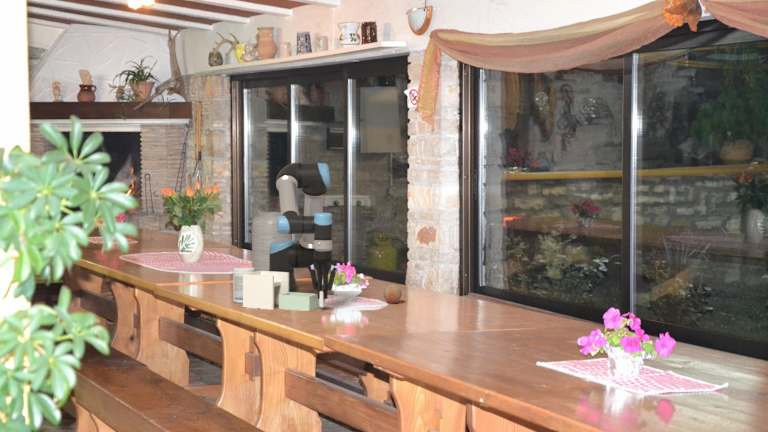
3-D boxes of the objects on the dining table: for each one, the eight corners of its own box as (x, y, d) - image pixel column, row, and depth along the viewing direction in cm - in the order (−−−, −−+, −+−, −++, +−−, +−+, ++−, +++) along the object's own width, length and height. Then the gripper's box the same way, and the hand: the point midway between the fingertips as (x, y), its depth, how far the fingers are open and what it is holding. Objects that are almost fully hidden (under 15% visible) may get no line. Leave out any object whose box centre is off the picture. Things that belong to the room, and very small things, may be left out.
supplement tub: (258, 302, 456) (259, 269, 455) (239, 304, 450) (239, 270, 449) (249, 300, 464) (249, 266, 463) (229, 301, 458) (229, 268, 457)
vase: (257, 274, 559) (257, 211, 557) (294, 275, 557) (295, 211, 555) (247, 278, 539) (247, 213, 537) (286, 279, 537) (286, 214, 535)
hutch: (260, 302, 456) (260, 270, 455) (289, 304, 451) (289, 272, 450) (242, 307, 442) (243, 274, 441) (272, 309, 437) (272, 276, 436)
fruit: (380, 303, 457) (381, 285, 456) (387, 301, 464) (387, 283, 464) (398, 305, 454) (398, 286, 454) (404, 302, 462) (404, 284, 461)
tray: (289, 305, 448) (289, 291, 447) (319, 308, 442) (319, 293, 442) (278, 309, 439) (278, 294, 438) (309, 311, 434) (309, 296, 433)
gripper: (304, 250, 434) (304, 306, 435) (333, 251, 429) (333, 309, 431) (312, 248, 441) (312, 304, 442) (341, 250, 436) (340, 306, 438)
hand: (322, 306), depth 436 cm, fingers closed
